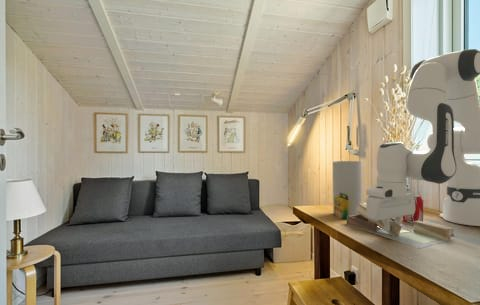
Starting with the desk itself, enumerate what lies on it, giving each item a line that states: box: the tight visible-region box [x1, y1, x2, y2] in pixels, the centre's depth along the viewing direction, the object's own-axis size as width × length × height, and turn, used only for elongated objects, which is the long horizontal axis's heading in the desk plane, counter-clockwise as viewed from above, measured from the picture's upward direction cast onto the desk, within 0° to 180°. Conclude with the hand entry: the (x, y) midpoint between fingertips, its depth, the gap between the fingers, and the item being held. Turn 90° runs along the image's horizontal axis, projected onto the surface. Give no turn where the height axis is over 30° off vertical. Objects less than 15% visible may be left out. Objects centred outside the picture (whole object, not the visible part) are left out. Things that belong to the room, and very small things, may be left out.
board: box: [346, 221, 457, 249], centre depth 92 cm, size 19×28×2 cm
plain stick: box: [413, 221, 452, 241], centre depth 87 cm, size 2×10×4 cm, turn 24°
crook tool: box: [356, 202, 403, 236], centre depth 94 cm, size 8×16×4 cm, turn 24°
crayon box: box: [333, 193, 349, 221], centre depth 111 cm, size 7×3×12 cm, turn 6°
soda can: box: [402, 193, 424, 224], centre depth 104 cm, size 7×7×12 cm
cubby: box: [346, 214, 395, 234], centre depth 98 cm, size 13×12×3 cm
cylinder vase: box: [332, 160, 363, 216], centre depth 119 cm, size 12×12×25 cm
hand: (391, 229), depth 88 cm, fingers closed on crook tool, 2 cm apart
